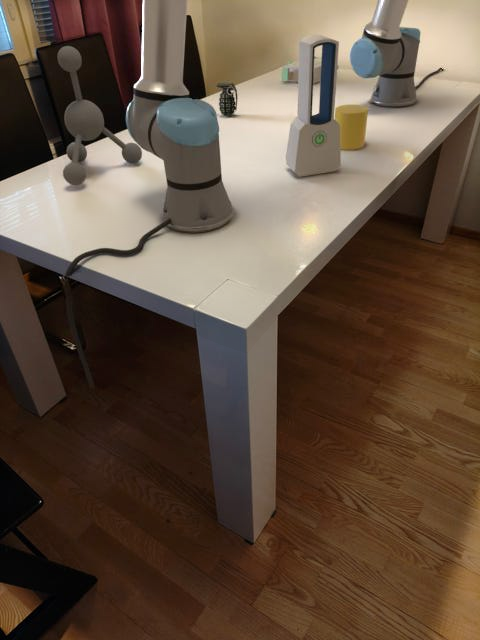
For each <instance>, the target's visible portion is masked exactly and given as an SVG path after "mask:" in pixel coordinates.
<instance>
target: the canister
mask: <svg viewBox="0 0 480 640" xmlns="http://www.w3.org/2000/svg"><path fill="white" fill-rule="evenodd" d="M368 114H369V107H367V106H365V105H361V104H343V105H339V106H336V107H335V109H334V120H335V121H336V122H338V123H339V124H340V150H344V151H353V150H359V149H362V148H364V147H365V143H366V134H367V133H366V132H367V125H368Z"/></svg>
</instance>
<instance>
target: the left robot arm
mask: <svg viewBox="0 0 480 640" xmlns="http://www.w3.org/2000/svg"><path fill="white" fill-rule="evenodd" d="M187 14H188V0H142V27H141V30H142V32H141V75H140V78H139V80H138V81H137V82H136V83H134V84H133V99H132V100H131V101H130V102H129V103H128V106H127V108H126V112H125V123H126V124H125V125H126V128H127V131H128V134H129V135H130V137H131V138H132V140H133V141H134V143H135V144H137V145H138V146H139V147H140V148H141V149H143V150H144V151H146V152H148V153H150V154H151V155H154V156H156V157H157V158H159V159H161V160H162V161H163V168H164V173H165V180H166V190H165V191H166V192H165V196H164V203H163V207H162V218H163V222H161V223H160V224H158V225H157V226H156V227H154V228H152V229H151V230H149V231H148V232H146V233H145V234H143V235H142V236H141V237H140V239H139V241H138V244H137V246H136V247H134V248H131V249H117V248H110V247H101V248H96V249H92V250H88V251H85V252H83V253H81V254H79V255H77V256H76V257H75V258H74V259H73V260H72V261H71V262H70V264H69V266H68V267H67V269H66V271H65V273H64V277H66V278H67V277H70V276H71V275H72V274H73V272H74V269H75V268H76V266H77V265H78V264H79V263H80V262H81V261H82V260H84V259H87V258H89V257H92V256H97V255H101V254H113V255H118V256H131V255H134V254H137V253H139V252H140V251H141V250H142V249H143V247H144V245H145V242H146V241H147V240H148V239H149V238H150V237H152V236H153V235H155V234H156V233H158V232H160V231H161V230H163V229H164V228H166V227H168V228H169V229H171V230H173V231H177V232H180V233H190V234H191V233H192V234H193V233H194V234H195V233H196V234H197V233H205V232H206V233H207V232H210V231H215V230H216V229H220V228H222V227H224V226H226V225H227V224H228V223H230V221H231V220H232V218H233V216H234V212H233V211H234V210H233V205H232V201H231V200H230V197H229V195H228V192H227V190H226V187H225V184H224V182H223V175H222V174H223V173H222V161H221V159H222V158H221V147H220V146H221V145H220V126H219V120H218V115H217V111H216V109H215V108H214V106H213V105H212V104H210V103H209V102H207V101H205V100H202V99H198V98H196V99H192V98H190V91H189V90H188V88H187V87H186V85H185V84H184V63H185V50H186V49H185V47H186V46H185V45H186V29H187ZM65 305H66V312H67V318H68V322H69V327H70V331H71V335H72V338H73V341H74V344H75V348H76V351H77V353H78V356H79V358H80V361H81V364H82V366H83V370H84V372H85V375H86V379H87V381H88V385H89V388H90V389H92V390H93V389H95V386H96V385H95V382H94V379H93V376H92V372H91V371H90V367H89V364H88V362H87V359H86V356H85V353H84V350H83V348H82V344H81V341H80V339H79V338H80V337H79V334H78V330H77V326H76V321H75V318H74V311H73V304H72V299H71V298H69V297H65Z"/></svg>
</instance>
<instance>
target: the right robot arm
mask: <svg viewBox="0 0 480 640" xmlns="http://www.w3.org/2000/svg"><path fill="white" fill-rule="evenodd" d="M408 3H409V0H377V3H376V6H375V9H374V12H373V16H372V18H371V21H369V22H368V23H366V24H365V25H364V29H363V32H362V35H361V38H359V39H357V40H356V41H355V42H354V43H353V45H352V46H351V49H350V52H349V53H350V54H349V62H350V65H351V66H352V71H353V72H354V73H355V74H356V75H357V76H358V77H360V78H362V79H374V78H377V77H378V79H377V82H376V84H375V85H374V87H373V89H372V90H373V92H372V94H371V99H370V102H371V103H372V104H373V105H376V106H379V107H387V108H403V107H408V106H412V105H414V104H415V103H416V101H417V91H416V90H417V89H418V88H420V87H421V86H422V84H423V83H425V81H426V80H427V79H428V78H429V77H431V76H433V75H435V74H437V73H439V72H444V68H443V67H442V68H443V69H442V68H441V67H439V68H438V69H437V70H435V71H433V72H431V73H429V74H427V75H426V76H425V77H423V79H421V81H420V82H419V83H418V84H417V85H415V74H416V73H415V72H416V68H417V61H418V56H419V55H418V54H419V49H420V44H421V30H420V29H419V28H418V27H417V28H416V27H408V26H407V27H406V26H401V23H402V20H403V17H404V15H405V11H406V8H407V6H408Z"/></svg>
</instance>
